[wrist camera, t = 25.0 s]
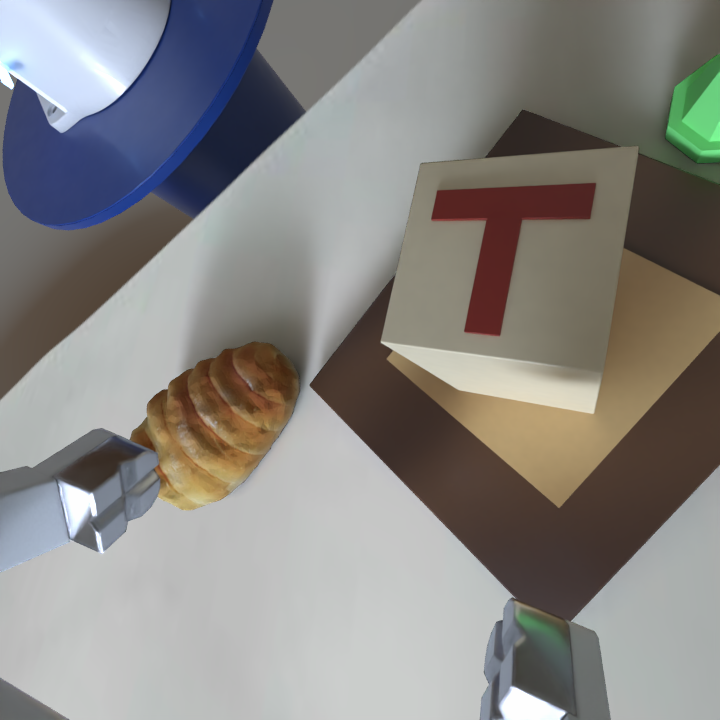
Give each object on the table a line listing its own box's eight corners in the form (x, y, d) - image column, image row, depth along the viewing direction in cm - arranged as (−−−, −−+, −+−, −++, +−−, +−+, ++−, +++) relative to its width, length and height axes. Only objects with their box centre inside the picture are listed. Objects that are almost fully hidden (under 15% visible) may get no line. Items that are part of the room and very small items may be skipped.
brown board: (316, 387, 22) (307, 384, 21) (524, 120, 20) (522, 106, 19) (555, 631, 16) (554, 640, 15) (900, 268, 14) (919, 256, 13)
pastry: (270, 319, 25) (221, 296, 21) (332, 412, 22) (286, 403, 18) (165, 425, 26) (105, 419, 23) (208, 523, 24) (147, 534, 20)
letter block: (458, 390, 18) (377, 341, 11) (480, 275, 19) (418, 160, 12) (594, 414, 16) (603, 372, 9) (615, 282, 16) (640, 141, 9)
